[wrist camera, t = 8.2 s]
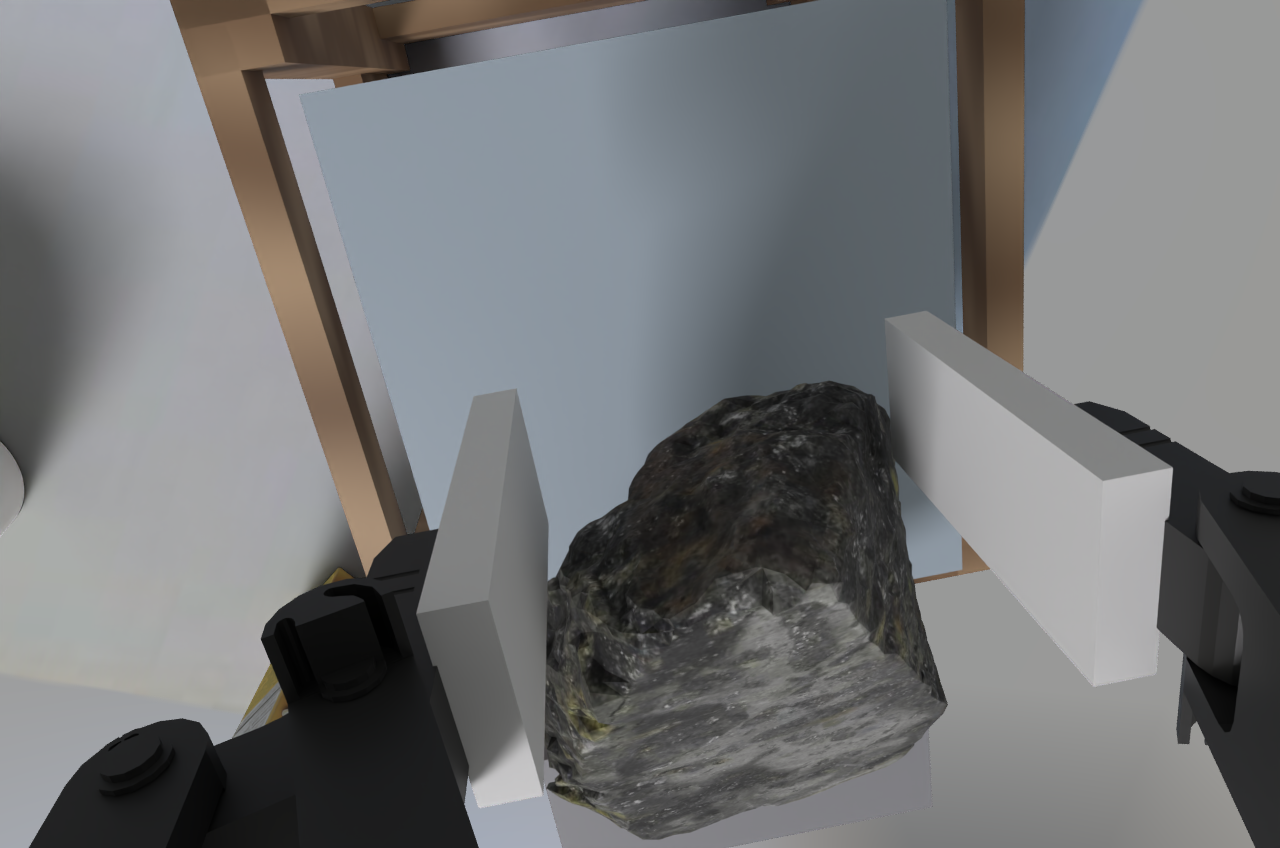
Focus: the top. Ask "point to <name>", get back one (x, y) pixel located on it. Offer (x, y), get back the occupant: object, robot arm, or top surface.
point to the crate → (461, 3)
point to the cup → (9, 489)
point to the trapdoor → (655, 265)
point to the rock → (740, 620)
